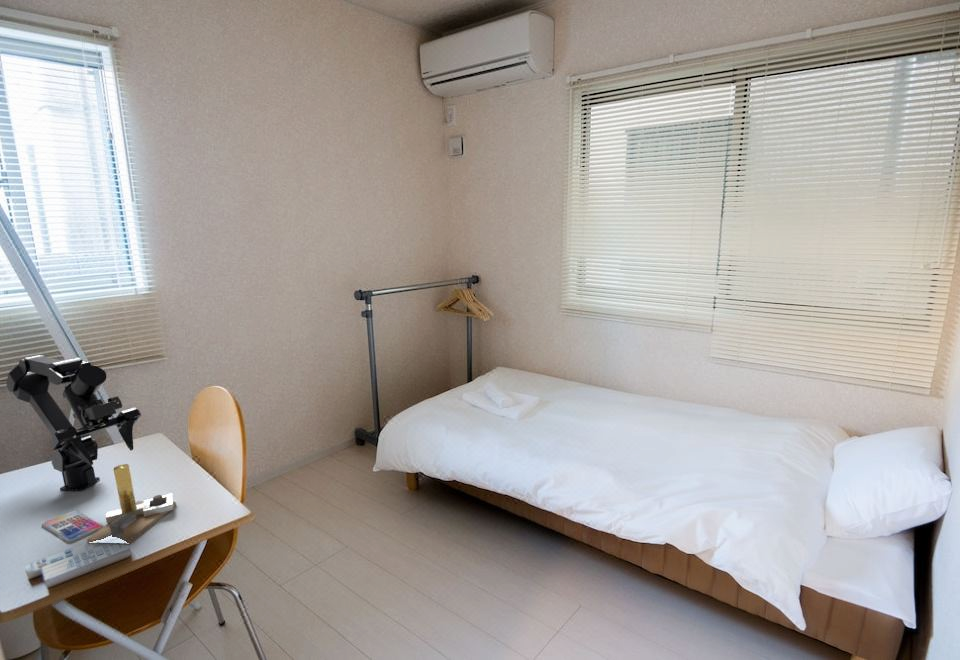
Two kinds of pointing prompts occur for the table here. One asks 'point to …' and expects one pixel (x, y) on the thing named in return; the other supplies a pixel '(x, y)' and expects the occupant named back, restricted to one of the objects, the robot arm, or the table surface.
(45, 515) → the table surface
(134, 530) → the keeper board
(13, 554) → the table surface
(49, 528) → the smartphone
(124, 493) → the link
